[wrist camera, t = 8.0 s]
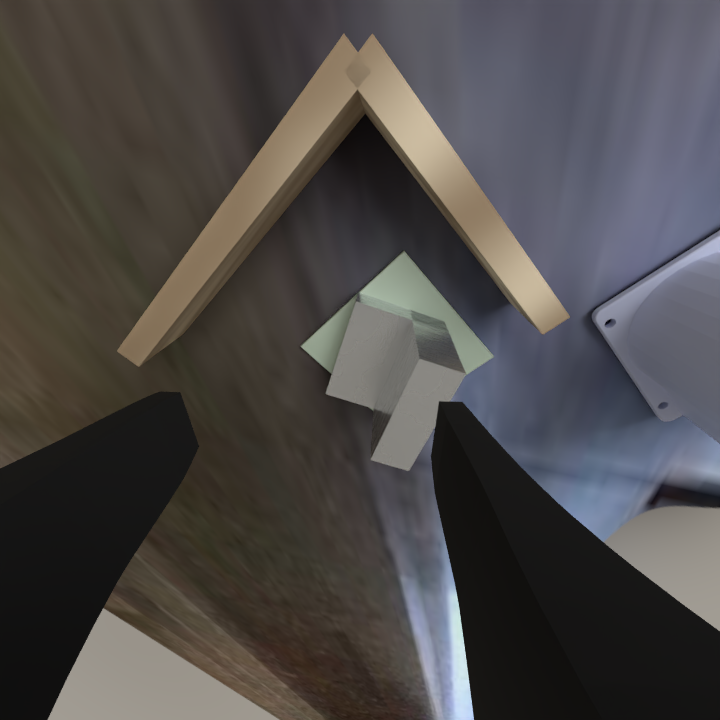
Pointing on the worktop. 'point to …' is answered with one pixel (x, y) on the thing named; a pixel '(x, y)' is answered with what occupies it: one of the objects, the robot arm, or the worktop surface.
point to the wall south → (453, 188)
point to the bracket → (396, 375)
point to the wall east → (256, 200)
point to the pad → (408, 291)
